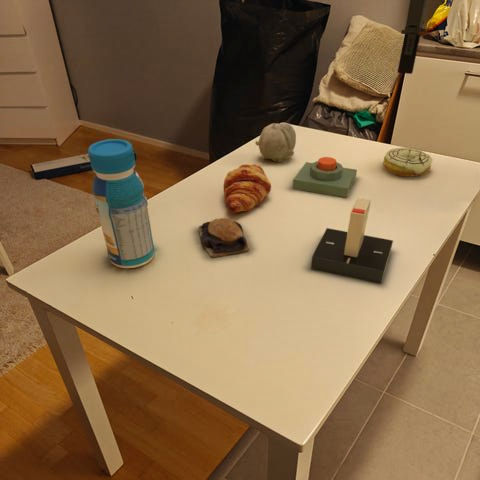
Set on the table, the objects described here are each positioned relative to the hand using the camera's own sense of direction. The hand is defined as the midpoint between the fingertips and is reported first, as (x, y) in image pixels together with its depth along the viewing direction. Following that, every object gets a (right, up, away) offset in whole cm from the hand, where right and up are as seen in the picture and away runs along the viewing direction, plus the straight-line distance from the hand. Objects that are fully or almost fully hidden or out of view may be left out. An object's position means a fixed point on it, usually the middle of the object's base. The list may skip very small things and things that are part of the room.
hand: (405, 72), depth 90 cm
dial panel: (-12, -38, -8) cm, 41 cm away
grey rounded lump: (-24, -8, +25) cm, 35 cm away
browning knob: (-13, -36, -10) cm, 39 cm away
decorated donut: (+7, -13, +19) cm, 24 cm away
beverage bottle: (-52, -37, -7) cm, 64 cm away
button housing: (-13, -18, +14) cm, 26 cm away
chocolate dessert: (-35, -33, -3) cm, 49 cm away
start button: (-13, -15, +12) cm, 23 cm away
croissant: (-30, -22, +10) cm, 39 cm away
